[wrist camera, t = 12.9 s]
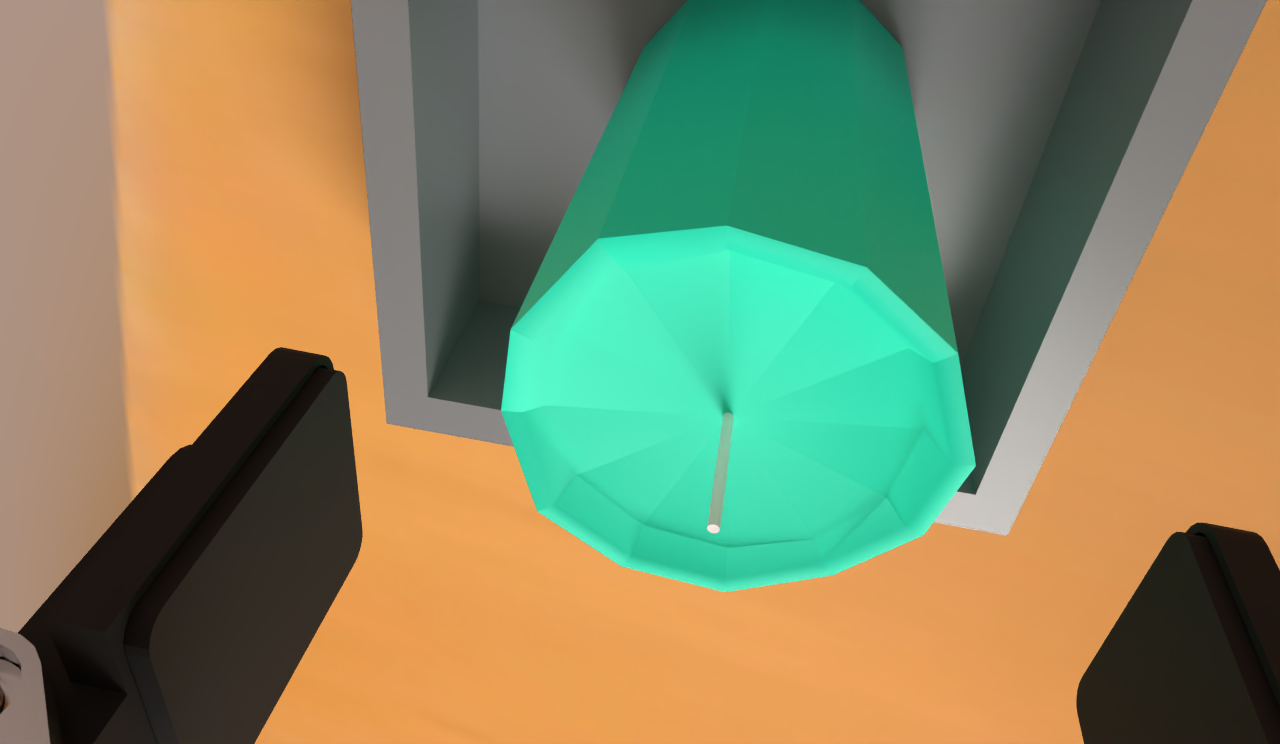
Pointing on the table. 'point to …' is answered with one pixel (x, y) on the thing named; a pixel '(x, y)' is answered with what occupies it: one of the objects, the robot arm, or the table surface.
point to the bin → (952, 154)
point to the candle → (746, 310)
